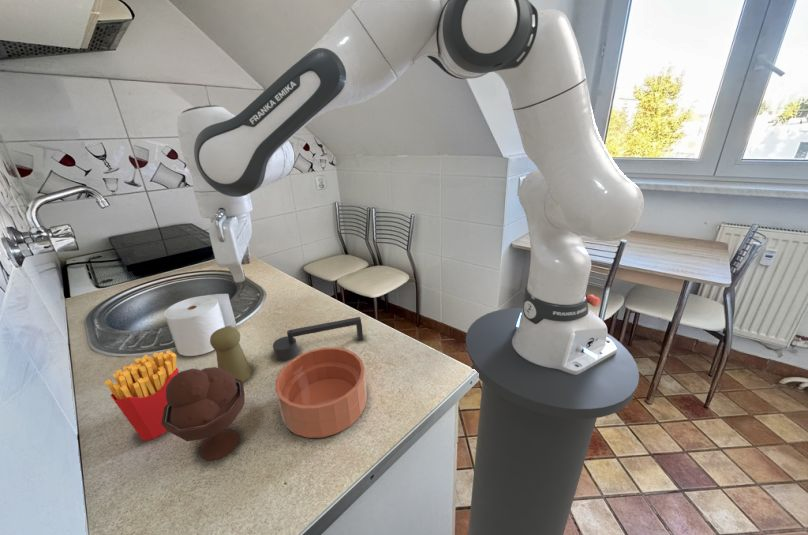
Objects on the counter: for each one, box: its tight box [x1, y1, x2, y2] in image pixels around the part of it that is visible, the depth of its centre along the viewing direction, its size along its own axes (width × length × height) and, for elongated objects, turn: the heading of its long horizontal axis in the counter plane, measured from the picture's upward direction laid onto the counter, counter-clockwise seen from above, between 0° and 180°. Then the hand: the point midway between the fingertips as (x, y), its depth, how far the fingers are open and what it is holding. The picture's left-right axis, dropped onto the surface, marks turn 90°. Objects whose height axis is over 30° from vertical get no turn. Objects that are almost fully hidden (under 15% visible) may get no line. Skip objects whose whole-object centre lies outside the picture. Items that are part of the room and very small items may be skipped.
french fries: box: [104, 349, 180, 442], centre depth 54 cm, size 9×4×13 cm, turn 144°
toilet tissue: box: [163, 293, 237, 357], centre depth 76 cm, size 11×12×10 cm
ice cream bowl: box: [161, 366, 246, 462], centre depth 49 cm, size 11×11×15 cm
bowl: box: [274, 346, 368, 439], centre depth 58 cm, size 15×15×7 cm
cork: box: [210, 326, 253, 383], centre depth 65 cm, size 6×6×11 cm
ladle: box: [272, 316, 364, 362], centre depth 74 cm, size 20×5×6 cm, turn 108°
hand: (243, 271), depth 65 cm, fingers open, 8 cm apart
